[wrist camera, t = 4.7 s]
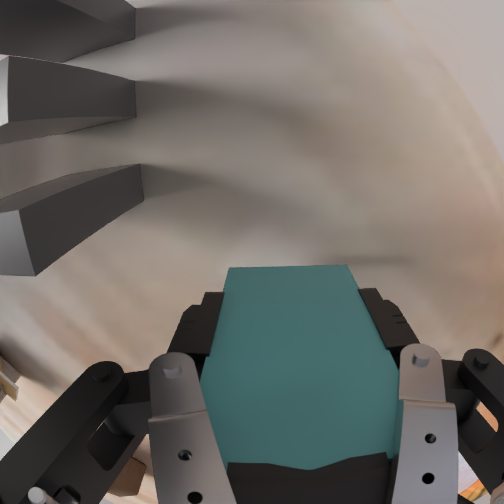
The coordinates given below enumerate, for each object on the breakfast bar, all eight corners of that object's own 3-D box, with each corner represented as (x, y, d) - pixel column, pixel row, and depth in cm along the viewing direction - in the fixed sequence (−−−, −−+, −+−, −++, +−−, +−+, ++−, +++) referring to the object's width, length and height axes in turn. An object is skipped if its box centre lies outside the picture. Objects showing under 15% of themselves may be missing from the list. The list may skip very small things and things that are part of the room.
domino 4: (342, 304, 13) (400, 486, 5) (232, 307, 14) (198, 499, 5) (346, 264, 13) (430, 448, 4) (229, 267, 13) (180, 465, 5)
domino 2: (136, 117, 14) (7, 122, 6) (62, 134, 14) (-63, 160, 6) (134, 80, 13) (8, 55, 5) (60, 101, 13) (-65, 110, 5)
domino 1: (134, 38, 12) (20, -14, 4) (61, 62, 12) (-59, 51, 4) (135, 8, 11) (32, -57, 3) (62, 34, 12) (-51, 10, 3)
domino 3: (143, 200, 16) (35, 276, 7) (71, 207, 16) (-39, 272, 8) (139, 163, 15) (18, 210, 6) (66, 175, 15) (-53, 224, 7)
